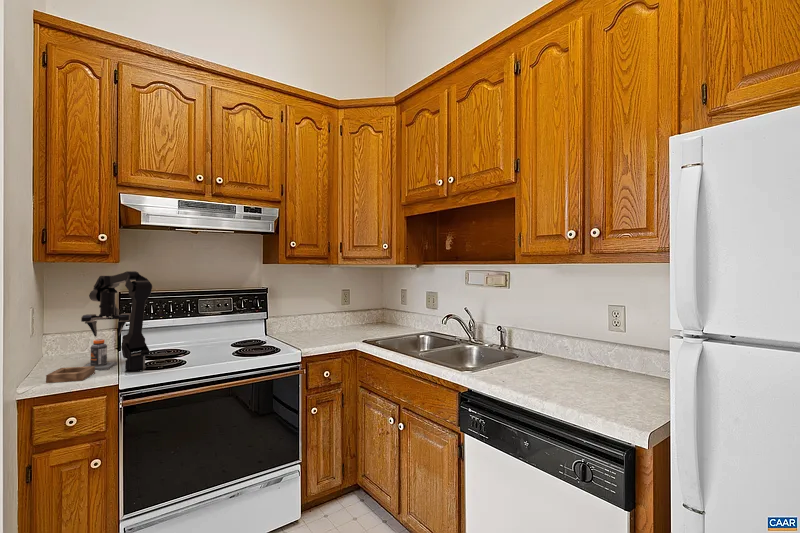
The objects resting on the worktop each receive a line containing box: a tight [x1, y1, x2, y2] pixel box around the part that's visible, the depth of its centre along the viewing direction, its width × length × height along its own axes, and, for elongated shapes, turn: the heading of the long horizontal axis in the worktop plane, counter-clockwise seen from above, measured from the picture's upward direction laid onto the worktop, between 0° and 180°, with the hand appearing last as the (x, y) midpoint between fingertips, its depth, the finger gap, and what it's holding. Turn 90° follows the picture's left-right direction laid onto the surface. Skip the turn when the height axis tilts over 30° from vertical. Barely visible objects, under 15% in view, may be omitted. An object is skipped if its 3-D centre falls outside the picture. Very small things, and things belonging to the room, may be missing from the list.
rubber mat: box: [82, 361, 118, 371], centre depth 184 cm, size 11×11×1 cm
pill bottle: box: [90, 338, 108, 366], centre depth 184 cm, size 6×6×11 cm
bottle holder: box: [45, 366, 96, 384], centre depth 167 cm, size 12×12×3 cm
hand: (107, 336), depth 191 cm, fingers open, 9 cm apart
